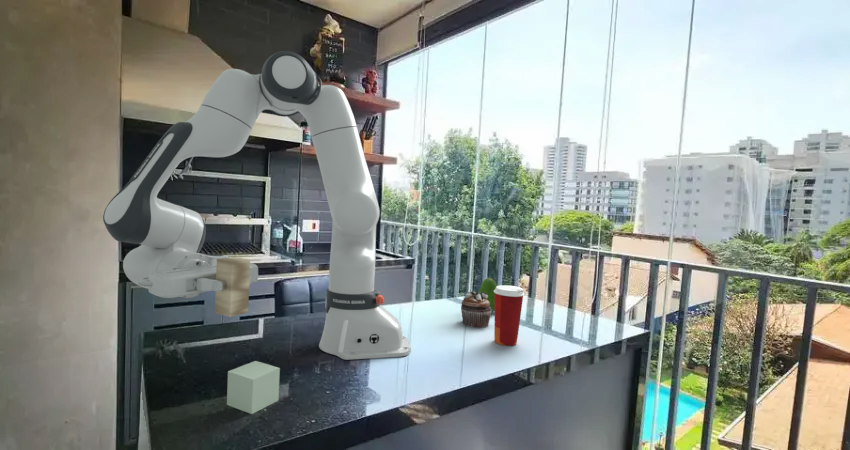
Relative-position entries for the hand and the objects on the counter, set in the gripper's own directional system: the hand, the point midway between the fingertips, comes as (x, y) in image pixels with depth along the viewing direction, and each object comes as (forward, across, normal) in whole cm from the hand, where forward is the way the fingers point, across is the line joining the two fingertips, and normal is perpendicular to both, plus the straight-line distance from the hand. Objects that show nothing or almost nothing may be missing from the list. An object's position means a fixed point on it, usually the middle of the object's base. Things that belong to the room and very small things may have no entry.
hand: (236, 284), depth 80 cm
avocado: (+21, +87, +20) cm, 92 cm away
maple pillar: (-1, 0, +6) cm, 6 cm away
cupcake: (+22, +71, +20) cm, 77 cm away
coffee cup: (+35, +59, +20) cm, 72 cm away
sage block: (+7, -2, +20) cm, 21 cm away
